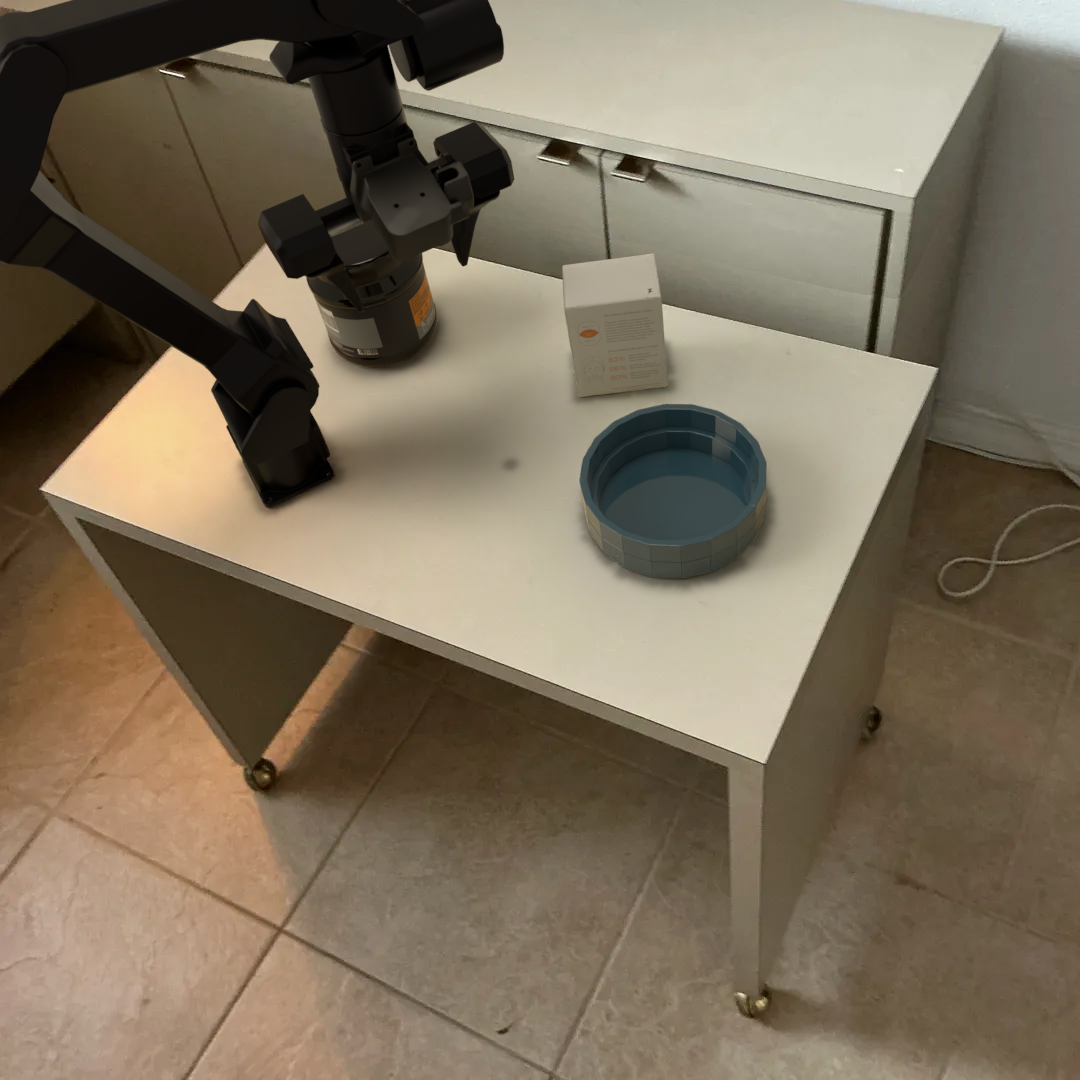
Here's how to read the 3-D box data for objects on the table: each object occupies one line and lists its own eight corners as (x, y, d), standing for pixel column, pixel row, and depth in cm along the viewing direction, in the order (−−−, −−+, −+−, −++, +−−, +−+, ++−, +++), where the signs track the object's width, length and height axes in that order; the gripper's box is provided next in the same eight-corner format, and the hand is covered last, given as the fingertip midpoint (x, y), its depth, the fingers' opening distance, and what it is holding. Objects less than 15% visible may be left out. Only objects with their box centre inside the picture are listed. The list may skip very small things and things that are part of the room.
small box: (662, 344, 101) (657, 251, 93) (668, 389, 98) (663, 296, 89) (574, 354, 102) (560, 262, 93) (576, 399, 98) (563, 307, 90)
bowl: (644, 610, 84) (640, 576, 81) (555, 488, 93) (548, 453, 89) (801, 527, 87) (804, 490, 84) (701, 416, 95) (700, 378, 92)
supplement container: (453, 299, 108) (427, 195, 99) (422, 377, 103) (391, 274, 93) (352, 293, 111) (318, 191, 101) (316, 369, 105) (276, 267, 96)
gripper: (276, 223, 71) (342, 394, 84) (533, 114, 75) (560, 293, 87) (223, 142, 78) (292, 312, 90) (462, 45, 81) (497, 221, 94)
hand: (411, 286), depth 90 cm, fingers open, 9 cm apart
